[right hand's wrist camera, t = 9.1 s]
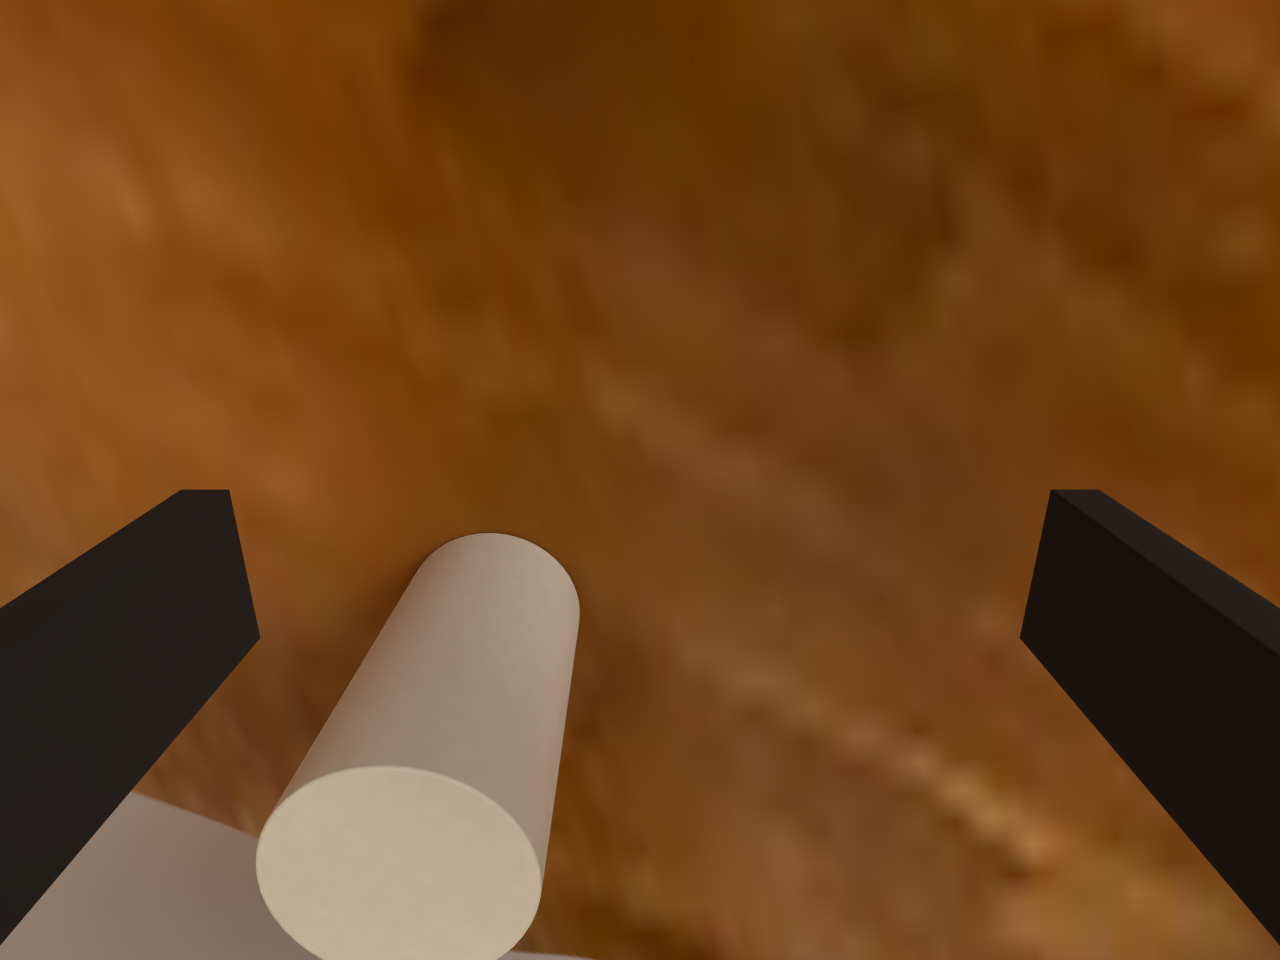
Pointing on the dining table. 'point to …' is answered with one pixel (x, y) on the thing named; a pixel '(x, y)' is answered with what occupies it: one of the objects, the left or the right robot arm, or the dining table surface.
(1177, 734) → the right robot arm
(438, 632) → the canister
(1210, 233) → the dining table surface
